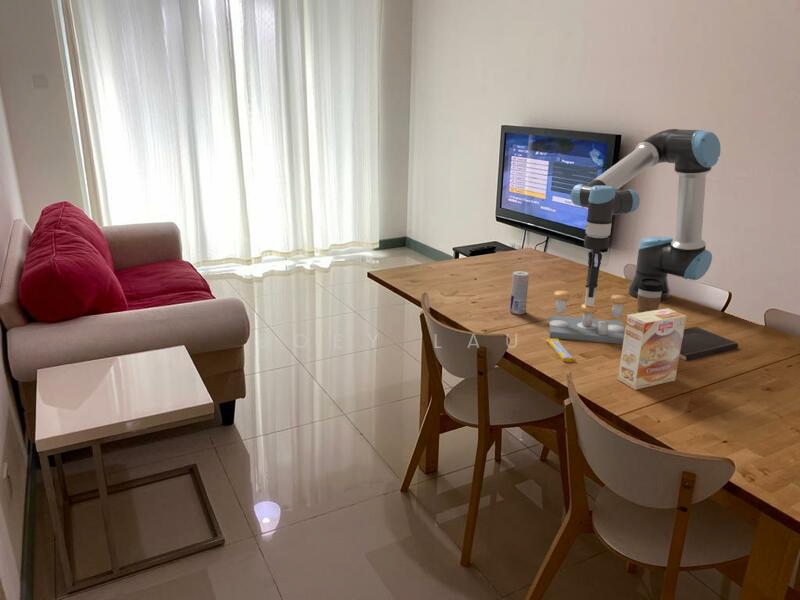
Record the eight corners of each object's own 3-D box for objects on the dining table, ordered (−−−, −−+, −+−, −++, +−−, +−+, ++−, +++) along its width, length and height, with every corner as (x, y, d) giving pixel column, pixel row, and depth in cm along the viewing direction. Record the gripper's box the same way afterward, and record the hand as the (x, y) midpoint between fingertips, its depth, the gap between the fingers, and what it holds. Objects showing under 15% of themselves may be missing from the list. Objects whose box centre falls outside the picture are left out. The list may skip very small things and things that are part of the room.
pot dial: (603, 331, 200) (604, 318, 199) (609, 334, 198) (610, 322, 196) (595, 332, 199) (596, 320, 198) (601, 336, 197) (602, 323, 195)
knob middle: (594, 322, 207) (596, 304, 204) (595, 328, 202) (597, 309, 200) (578, 321, 208) (580, 303, 205) (579, 326, 203) (581, 308, 201)
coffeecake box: (635, 390, 165) (645, 322, 159) (616, 379, 172) (625, 313, 165) (676, 381, 171) (688, 315, 165) (657, 370, 177) (667, 307, 171)
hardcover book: (644, 343, 198) (645, 337, 197) (694, 332, 207) (696, 326, 207) (685, 362, 184) (687, 355, 183) (737, 350, 194) (739, 343, 193)
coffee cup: (658, 319, 217) (665, 279, 212) (657, 327, 210) (664, 285, 205) (633, 316, 221) (639, 276, 216) (631, 323, 213) (637, 282, 208)
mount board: (621, 326, 211) (622, 320, 210) (627, 344, 196) (628, 337, 195) (548, 320, 215) (549, 314, 215) (549, 337, 201) (549, 331, 200)
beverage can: (528, 312, 223) (532, 272, 218) (520, 316, 219) (523, 275, 214) (515, 308, 227) (518, 269, 222) (507, 312, 223) (509, 272, 218)
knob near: (623, 314, 204) (626, 295, 201) (625, 319, 199) (628, 300, 197) (608, 313, 205) (610, 294, 202) (609, 318, 200) (612, 298, 198)
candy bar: (577, 364, 182) (577, 358, 181) (563, 364, 182) (564, 359, 181) (558, 342, 198) (558, 337, 197) (545, 342, 197) (545, 337, 197)
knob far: (567, 309, 207) (569, 291, 205) (568, 314, 202) (570, 295, 200) (552, 308, 208) (554, 290, 206) (552, 313, 203) (554, 294, 201)
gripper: (583, 230, 202) (576, 298, 209) (586, 239, 190) (578, 311, 197) (607, 231, 200) (599, 300, 208) (611, 240, 188) (602, 313, 196)
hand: (589, 305), depth 202 cm, fingers closed
